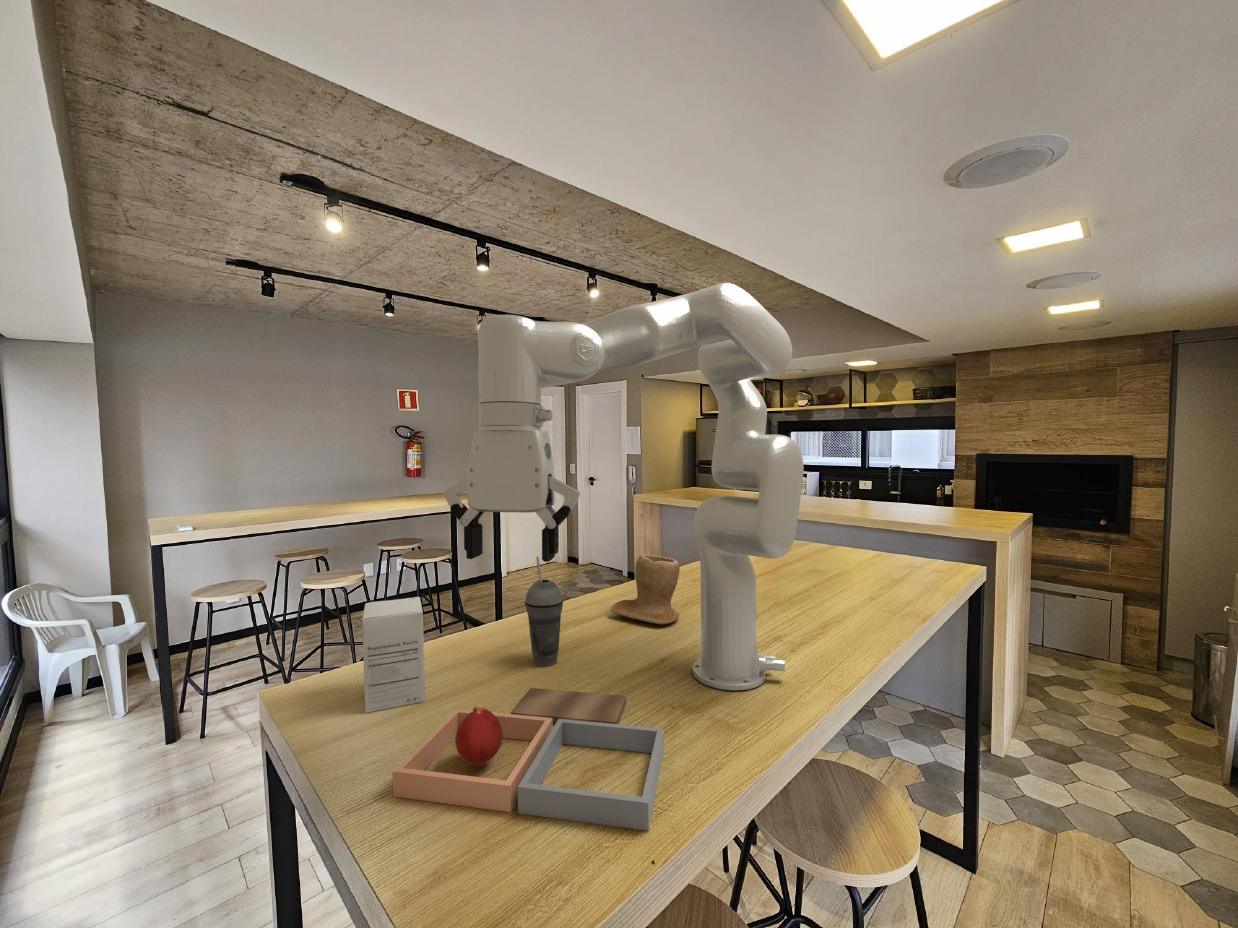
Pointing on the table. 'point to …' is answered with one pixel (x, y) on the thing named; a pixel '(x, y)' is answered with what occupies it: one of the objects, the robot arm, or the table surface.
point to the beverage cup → (544, 620)
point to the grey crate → (593, 803)
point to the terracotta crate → (468, 788)
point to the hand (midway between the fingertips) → (511, 558)
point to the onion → (479, 736)
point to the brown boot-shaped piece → (652, 591)
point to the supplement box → (393, 653)
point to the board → (571, 706)
